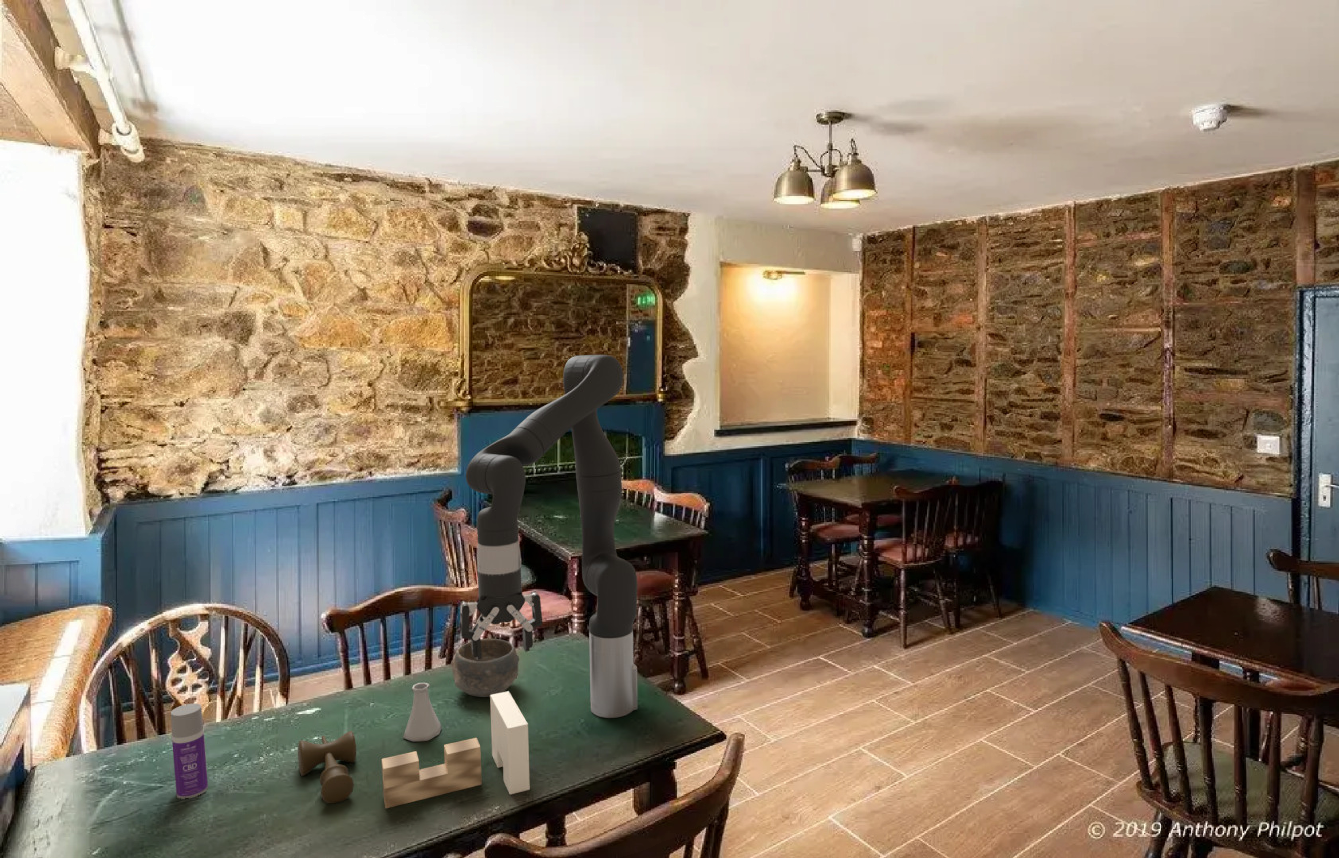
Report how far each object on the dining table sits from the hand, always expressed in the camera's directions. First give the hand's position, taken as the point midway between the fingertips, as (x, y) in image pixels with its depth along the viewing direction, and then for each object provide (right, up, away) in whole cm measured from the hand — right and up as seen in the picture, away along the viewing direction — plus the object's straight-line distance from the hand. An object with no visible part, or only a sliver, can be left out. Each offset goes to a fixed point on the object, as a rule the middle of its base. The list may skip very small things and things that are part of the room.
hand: (502, 654), depth 135 cm
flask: (-20, -21, +16) cm, 33 cm away
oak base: (-11, -23, -4) cm, 26 cm away
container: (-54, -23, -3) cm, 58 cm away
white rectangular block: (+1, -22, +2) cm, 22 cm away
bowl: (-11, -19, +34) cm, 41 cm away
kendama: (-31, -23, +1) cm, 39 cm away
